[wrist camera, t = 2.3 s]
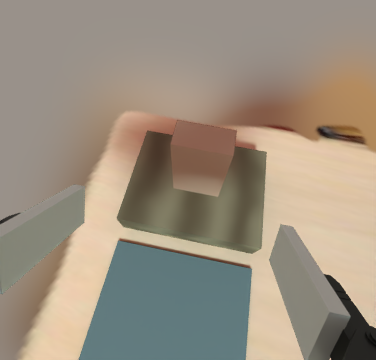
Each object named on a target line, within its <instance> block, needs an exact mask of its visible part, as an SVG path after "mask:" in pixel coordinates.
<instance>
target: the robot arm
mask: <svg viewBox="0 0 376 360" xmlns="http://www.w3.org/2000/svg"><path fill="white" fill-rule="evenodd" d="M84 209H85V186H80V185H72V186H70V187H68V188H66V189H65V190H63V191H61V192H59V193H57V194H55V195H53V196H52V197H50V198H48V199H46V200H44V201H42V202H41V203H39V204H37V205H35V206H33V207H31V208H30V209H28V210H26V211H24V212H22V213H18V214H14V215H11V216H8V217H6V218H5V219H3V220H1V221H0V294H3V293H4V292H5V291H6V290H8V289H9V288H10V287H11V286H12V285H13V284H15V283H16V282H17V281H18V280H19V279H20V278H21V277H22V276H24V275H25V274H26V273H27V272H28V271H29V270H30V269H32V268H33V267H34V266H35V265H36V264H37V263H38V262H40V261H41V260H42V259H43V258H44V257H45V256H46V255H48V254H49V253H50V252H51V251H52V250H53V249H54V248H55V247H57V246H58V245H59V244H60V243H61V242H62V241H64V240H65V239H66V238H67V237H68V236H69V235H70V234H72V233H73V232H74V231H75V230H76V229H77V228H78V227H80V226H81V225H82V224H83V223H84ZM269 261H270V264H271V266H272V269H273V272H274V275H275V278H276V281H277V284H278V286H279V289H280V292H281V295H282V298H283V301H284V303H285V306H286V309H287V312H288V315H289V318H290V321H291V323H292V326H293V329H294V332H295V335H296V338H297V341H298V343H299V346H300V349H301V352H302V355H303V358H304V360H329V359H330V358H331V360H376V328H374V327H372V326H369V324H368V323H367V322H366V320H365V319H364V317H363V316H362V315H361V313H360V312H359V310H358V309H357V307H356V306H355V305H354V303H353V302H352V301H351V299H350V297H349V296H348V295H347V294H346V292H345V290H344V289H343V288H342V286H341V285H340V283H338V282H337V281H336V280H335V279H334V278H333V277H332V276H330V275H326V274H323V273H322V271H321V270H320V268H319V266H318V265H317V263H316V262H315V260H314V259H313V257H312V256H311V254H310V253H309V251H308V249H307V248H306V246H305V245H304V243H303V242H302V240H301V239H300V237H299V235H298V234H297V232H296V231H295V229H294V228H293V227H292V226H287V225H280V228H279V231H278V234H277V238H276V241H275V244H274V247H273V250H272V253H271V256H270V259H269Z"/></svg>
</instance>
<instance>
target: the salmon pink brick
mask: <svg viewBox="0 0 376 360" xmlns="http://www.w3.org/2000/svg"><path fill="white" fill-rule="evenodd" d="M236 133H237V130H231V129H225V128H219V127H214V126H208V125H202V124H196V123H191V122H185V121H179V120H177V123H176V126H175V130H174V133H173V137H172V140H171V144H170V146H171V160H172V174H173V188H175V189H180V190H185V191H190V192H195V193H201V194H206V195H211V196H216V197H218V196H219V193H220V190H221V188H222V185H223V182H224V180H225V177H226V174H227V172H228V169H229V166H230V164H231V161H232V159H233V156H234V148H235V141H236Z"/></svg>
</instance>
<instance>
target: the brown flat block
mask: <svg viewBox="0 0 376 360" xmlns="http://www.w3.org/2000/svg"><path fill="white" fill-rule="evenodd" d="M172 137H173V135H169V134H163V133H157V132H152V131H147V133H146V136H145V139H144V142H143V145H142V147H141V150H140V153H139V156H138V159H137V162H136V165H135V167H134V170H133V173H132V176H131V179H130V182H129V184H128V187H127V190H126V193H125V196H124V199H123V202H122V204H121V207H120V210H119V213H118V216H117V220H118V221H119V222H120V223H121V224H122V226H123V227H126V228H131V229H136V230H141V231H145V232H150V233H155V234H160V235H165V236H169V237H174V238H179V239H184V240H189V241H193V242H198V243H203V244H208V245H213V246H218V247H222V248H227V249H232V250H237V251H242V252H246V253H251V254H252V253H254V252H256V251H258V250H259V249H261V246H262V228H263V209H264V191H265V172H266V154H267V152H264V151H258V150H252V149H247V148H241V147H236V146H235V148H234V156H233V159H232V161H231V164H230V166H229V169H228V172H227V174H226V177H225V180H224V182H223V185H222V188H221V190H220V193H219V196H218V197H216V196H211V195H206V194H201V193H195V192H190V191H185V190H180V189H175V188H173V174H172V160H171V146H170V144H171V140H172Z"/></svg>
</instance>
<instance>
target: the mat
mask: <svg viewBox="0 0 376 360" xmlns="http://www.w3.org/2000/svg"><path fill="white" fill-rule="evenodd" d="M251 274H252V269H250V268H245V267H240V266H236V265H231V264H226V263H222V262H217V261H212V260H208V259H203V258H198V257H193V256H189V255H184V254H179V253H175V252H170V251H165V250H160V249H156V248H151V247H146V246H142V245H137V244H132V243H127V242H123V241H118V243H117V246H116V249H115V252H114V255H113V258H112V261H111V264H110V267H109V270H108V273H107V276H106V279H105V282H104V285H103V288H102V291H101V294H100V297H99V300H98V303H97V306H96V309H95V312H94V315H93V318H92V321H91V324H90V327H89V330H88V333H87V336H86V339H85V342H84V345H83V348H82V351H81V354H80V357H79V360H246V346H247V332H248V317H249V303H250V288H251Z"/></svg>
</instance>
